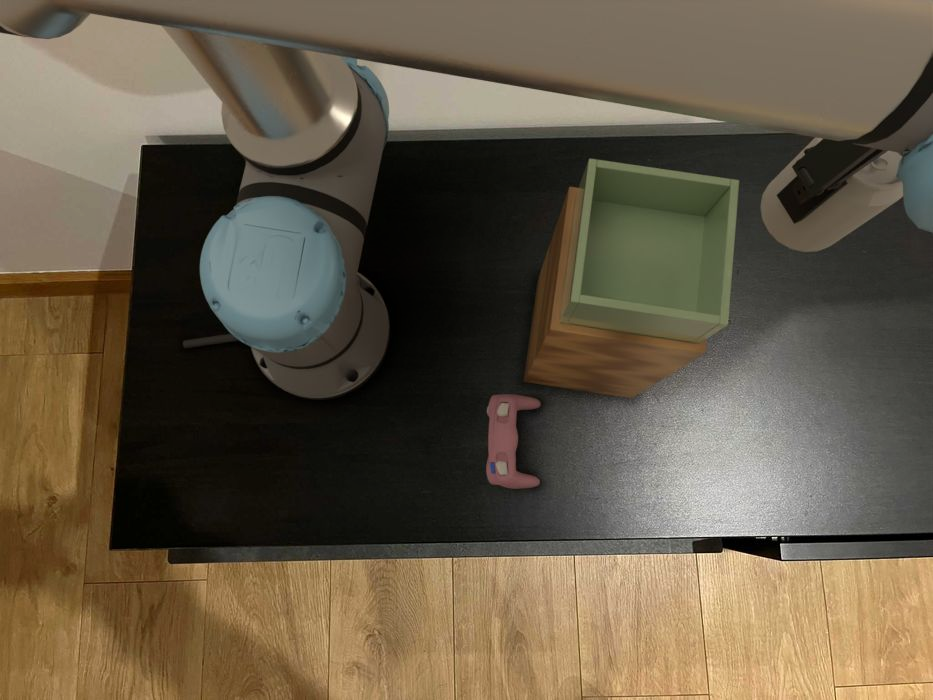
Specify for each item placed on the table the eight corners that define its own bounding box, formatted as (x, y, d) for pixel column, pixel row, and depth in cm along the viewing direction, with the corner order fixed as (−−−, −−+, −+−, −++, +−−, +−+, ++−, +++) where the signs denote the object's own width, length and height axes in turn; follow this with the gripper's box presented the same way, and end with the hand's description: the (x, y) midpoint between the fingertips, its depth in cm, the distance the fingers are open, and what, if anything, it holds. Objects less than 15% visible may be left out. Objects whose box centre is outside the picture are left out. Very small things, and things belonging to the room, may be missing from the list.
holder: (558, 323, 53) (570, 301, 47) (575, 194, 56) (589, 157, 50) (698, 344, 53) (728, 325, 47) (710, 213, 55) (739, 179, 49)
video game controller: (505, 399, 78) (478, 389, 72) (543, 397, 76) (519, 387, 70) (503, 489, 76) (475, 487, 70) (543, 490, 74) (518, 488, 67)
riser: (523, 381, 77) (550, 329, 53) (537, 279, 79) (569, 186, 56) (631, 398, 76) (706, 353, 53) (642, 294, 79) (718, 208, 55)
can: (840, 180, 62) (931, 105, 50) (841, 259, 60) (935, 201, 48) (756, 171, 62) (827, 94, 50) (755, 251, 60) (828, 191, 48)
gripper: (957, 123, 31) (747, 280, 53) (1306, -43, 33) (964, 174, 56) (866, -8, 32) (699, 198, 55) (1207, -160, 35) (912, 98, 57)
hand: (832, 186), depth 55 cm, fingers closed on can, 7 cm apart
